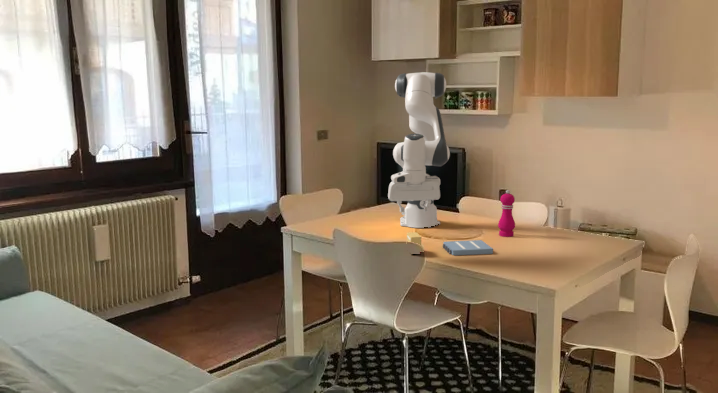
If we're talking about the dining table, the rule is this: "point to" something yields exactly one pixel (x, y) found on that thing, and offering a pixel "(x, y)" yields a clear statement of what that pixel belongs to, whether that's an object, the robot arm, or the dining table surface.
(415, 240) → the pale yellow block
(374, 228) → the dining table surface
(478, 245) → the board
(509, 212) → the pepper mill
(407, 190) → the robot arm
